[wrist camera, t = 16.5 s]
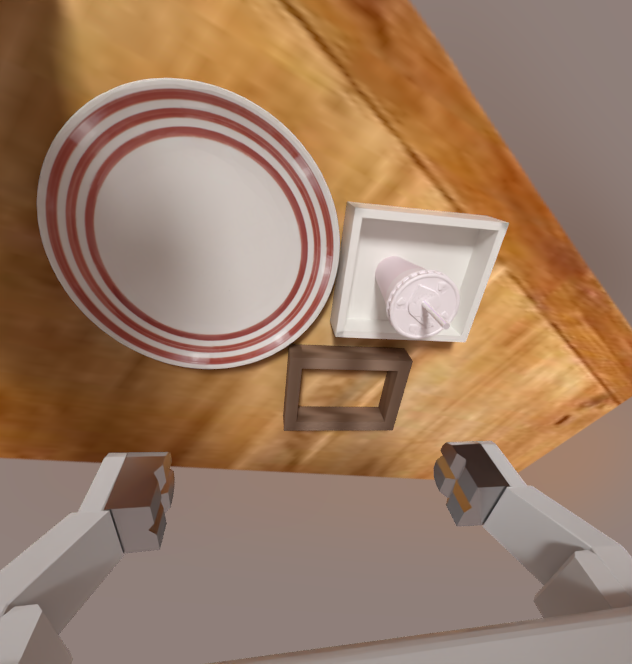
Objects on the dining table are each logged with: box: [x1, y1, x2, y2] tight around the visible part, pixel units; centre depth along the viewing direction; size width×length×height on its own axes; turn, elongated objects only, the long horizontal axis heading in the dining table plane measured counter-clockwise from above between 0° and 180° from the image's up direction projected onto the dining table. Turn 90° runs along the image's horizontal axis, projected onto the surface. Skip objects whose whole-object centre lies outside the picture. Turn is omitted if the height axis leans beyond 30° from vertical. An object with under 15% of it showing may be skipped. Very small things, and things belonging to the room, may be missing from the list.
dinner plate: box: [37, 78, 340, 369], centre depth 34 cm, size 28×27×3 cm
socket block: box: [283, 344, 413, 431], centre depth 44 cm, size 15×11×3 cm
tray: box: [330, 202, 509, 342], centre depth 37 cm, size 16×14×4 cm
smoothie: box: [375, 256, 460, 339], centre depth 32 cm, size 6×6×14 cm
